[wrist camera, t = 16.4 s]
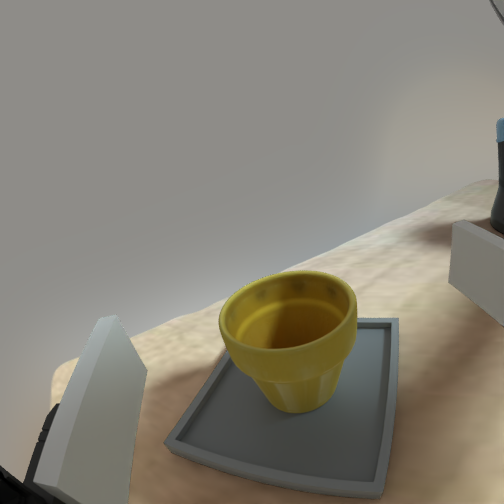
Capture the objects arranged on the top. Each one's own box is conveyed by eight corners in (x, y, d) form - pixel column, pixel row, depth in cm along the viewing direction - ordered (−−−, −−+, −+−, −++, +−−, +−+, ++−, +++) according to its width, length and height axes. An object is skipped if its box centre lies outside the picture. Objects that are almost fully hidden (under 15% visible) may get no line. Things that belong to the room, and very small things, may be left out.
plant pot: (290, 454, 19) (269, 376, 15) (226, 386, 27) (196, 307, 24) (379, 381, 23) (385, 293, 20) (306, 337, 32) (294, 258, 28)
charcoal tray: (254, 324, 38) (251, 313, 37) (397, 330, 30) (398, 317, 29) (171, 452, 21) (163, 442, 21) (379, 498, 14) (383, 492, 13)
